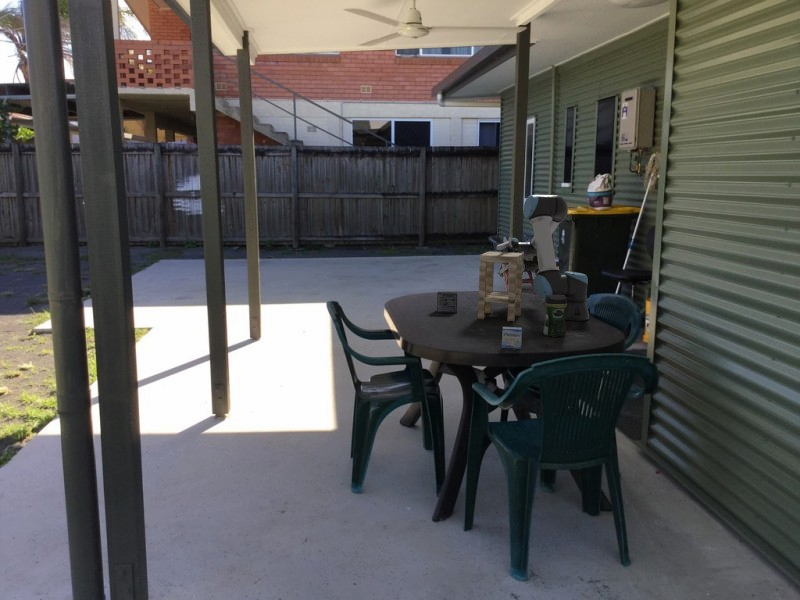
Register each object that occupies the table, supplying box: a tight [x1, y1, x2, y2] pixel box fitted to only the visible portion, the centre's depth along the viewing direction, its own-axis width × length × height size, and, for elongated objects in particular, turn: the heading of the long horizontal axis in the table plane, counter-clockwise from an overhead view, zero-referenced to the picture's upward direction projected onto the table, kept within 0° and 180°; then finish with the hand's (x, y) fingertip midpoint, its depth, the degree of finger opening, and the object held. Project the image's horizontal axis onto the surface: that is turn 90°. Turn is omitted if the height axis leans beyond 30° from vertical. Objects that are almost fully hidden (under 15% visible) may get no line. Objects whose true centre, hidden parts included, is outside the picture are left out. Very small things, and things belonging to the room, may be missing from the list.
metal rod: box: [496, 241, 510, 251], centre depth 336 cm, size 26×2×2 cm, turn 159°
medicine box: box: [501, 326, 523, 350], centre depth 276 cm, size 8×4×9 cm, turn 81°
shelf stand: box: [477, 251, 524, 323], centre depth 335 cm, size 18×18×32 cm
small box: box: [436, 291, 458, 314], centre depth 348 cm, size 11×6×10 cm, turn 84°
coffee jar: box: [542, 295, 567, 338], centre depth 298 cm, size 10×8×19 cm
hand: (506, 239), depth 340 cm, fingers closed on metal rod, 2 cm apart
